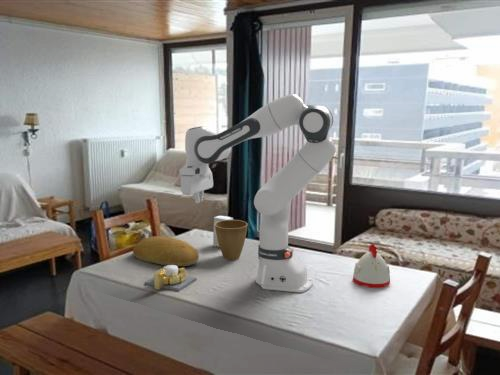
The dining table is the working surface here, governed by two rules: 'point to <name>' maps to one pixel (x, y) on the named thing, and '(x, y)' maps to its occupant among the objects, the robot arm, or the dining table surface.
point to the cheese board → (162, 279)
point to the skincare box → (216, 219)
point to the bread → (166, 251)
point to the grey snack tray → (178, 286)
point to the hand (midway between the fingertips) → (198, 202)
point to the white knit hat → (372, 270)
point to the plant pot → (231, 237)
